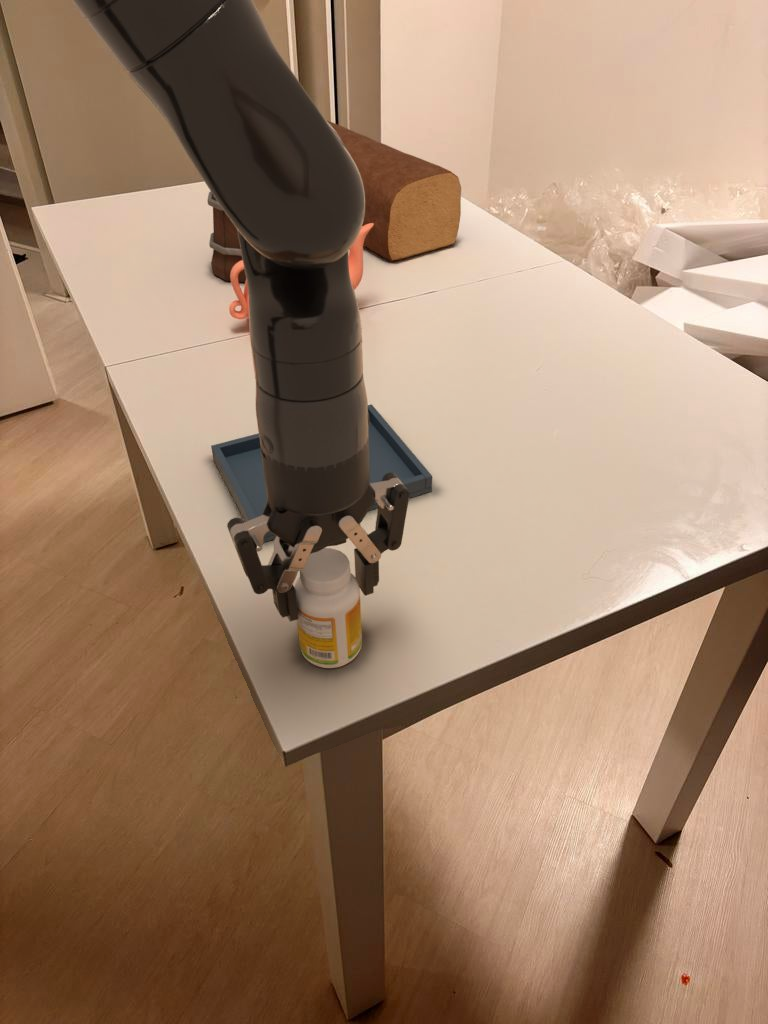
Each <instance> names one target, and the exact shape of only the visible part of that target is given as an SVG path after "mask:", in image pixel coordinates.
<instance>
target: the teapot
mask: <svg viewBox="0 0 768 1024" xmlns="http://www.w3.org/2000/svg"><path fill="white" fill-rule="evenodd" d="M373 225H374V224H373V223H369V224H366V225H364V226H362V227H361V230H360V233H359V235H358V237H357V239H356V241H355V242H354V244H353V245H352V247H351V248H350V249H349V251H348V260H349V273H350V279H351V283H352V286H353V289H354V291H356V289H357V288H359V287H358V286H359V285H360V283H361V281H362V279H363V275H364V246H363V243H364V239H365V237H366V235H367V233H368V232H369V230H370V229H371V228H372V227H373ZM243 269H244V264H243V260H241V261H239V262H238V263H236V264H235V265H234V266H233V268H232V270H231V273H230V279H231V281H230V284H231V286H232V289H233V292H234V293H235V296H236V300H233V301H232V302H231V303H230V304H229V307H228V311H229V314H230V317H232V318H234V319H237V320H244V319H246V318H248V319H249V296H248V286H247V280H246V282H244V288H243V290H242V288H241V286H240V282H238V274H239V272H240V271H241V270H243ZM239 306H240V308H241V309H240V310H236V307H239Z"/></svg>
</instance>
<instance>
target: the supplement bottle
mask: <svg viewBox="0 0 768 1024" xmlns="http://www.w3.org/2000/svg"><path fill="white" fill-rule="evenodd" d="M293 586H294V588H295V591H296V600H297V608H298V617H299V619H297V620H296V625H297V633H298V634H297V635H298V642H299V647H300V648H299V649H300V651H301V654H302V656H303V657H304V659H305V660H307V661H308V662H309V663H310V664H312V665H314V666H317V667H320V668H324V669H334V668H340V667H343V666H346V665H347V664H349V663H350V662H352V661H353V660H354V659H355V658H357V656H358V655H359V653H360V651H361V649H362V645H363V632H362V631H363V630H362V612H361V611H362V610H361V609H362V608H361V592H360V591H361V589H360V587H359V584H358V581H357V579H356V578H355V574H353V573H352V572H351V564H350V560H349V557H348V556H347V555H346V554H345V553H344V552H343V551H340V550H338V549H337V548H336V549H335V548H328V547H325V548H324V549H322V550H320V551H318V552H315V553H312V554H310V555H309V557H308V560H307V562H306V564H305V567H304V569H303V570H302V571H299V577H298V578H297V580H296V581H295V584H294V585H293Z"/></svg>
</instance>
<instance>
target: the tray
mask: <svg viewBox="0 0 768 1024" xmlns="http://www.w3.org/2000/svg"><path fill="white" fill-rule="evenodd" d="M368 412H369V417H370V423H369V427H368V432H369V465H370V482H369V483H375V482H381V481H382V478H383V476H384V475H385V474H387V473H389V472H393V473H395V475H396V476H397V477H398V478H399V480H400V481H401V482H402V483H403V485H404V486H405V487H406V489H407V490H408V491H409V499H411V498H416V497H418V496H421V495H424V494H427V493H431V492H433V475H432V474H431V472H430V471H429V470H428V468H426V467H425V466H424V464H423V463H422V462H421V461H420V459H419V458H418V457H417V456H416V455H415V454H414V452H413V451H412V449H410V448H409V447H408V445H407V444H406V443H405V442H404V440H402V438H401V437H400V436H399V435H398V433H397V432H396V431H395V430H394V428H392V426H391V425H390V424H389V423H388V422H387V420H386V419H385V418H384V417H383V416H382V415H381V414H380V412H379V411H378V410H377V409H376V407H374V405H373V404H372V403H371V404H368ZM210 446H211V447H210V449H211V453H212V454H211V455H212V458H213V462H214V464H215V466H216V468H217V470H218V472H219V474H220V476H221V478H222V480H223V482H224V484H225V486H226V488H227V490H228V491H229V493H230V496H231V497H232V499H233V501H234V503H235V504H236V507H237V509H238V511H239V513H240V515H241V517H242V520H243V522H247V521H249V520H252V519H254V518H256V517H259V516H261V515H263V511H264V508H265V506H266V504H267V491H266V484H265V476H264V469H263V462H262V454H261V446H260V439H259V432H258V433H254V434H251V435H247V436H243V437H239V438H235V439H231V440H227V441H223V442H220V443H216V444H212V445H210ZM378 505H379V504H378V503H377V501H376V500H375V501H374V503H373V505H372V506H371V508H370V509H369V511H372V510H375V509H378ZM275 538H276V535H274V534H273V533H272V532H271V531H269V532H267V533H266V534H265V535H264V538H263V540H264V543H267V542H270V541H274V540H275Z"/></svg>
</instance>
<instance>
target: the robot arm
mask: <svg viewBox="0 0 768 1024" xmlns="http://www.w3.org/2000/svg"><path fill="white" fill-rule="evenodd" d="M71 2H72V3H73V5H74V6H75V7H76V9H77V10H78V11H79V12H80V14H81V15H82V16H83V18H85V19H86V21H87V23H88V24H89V26H90V27H91V28H92V29H93V31H94V33H96V35H97V36H98V37H99V38H100V40H101V41H102V42H103V44H104V45H105V46H106V47H107V49H108V50H109V52H110V53H111V54H112V55H113V56H114V58H115V59H116V61H117V62H118V63H119V64H120V66H121V67H122V69H124V71H127V75H128V76H129V77H130V79H131V80H132V81H133V82H134V83H135V85H136V86H137V87H138V88H139V89H140V90H141V91H142V93H144V95H145V96H146V97H147V98H148V99H149V100H150V101H151V103H152V104H153V105H154V106H155V107H156V108H157V110H158V112H159V113H160V114H161V115H162V117H163V118H164V120H166V122H167V123H168V125H169V126H170V128H171V130H172V131H173V134H174V135H175V136H176V138H177V141H179V144H180V145H181V147H182V148H183V150H184V151H185V153H186V155H187V156H188V158H189V160H190V161H191V162H192V164H193V166H194V168H195V169H196V170H197V172H198V174H199V175H200V177H201V178H202V180H203V181H204V183H205V185H206V186H207V188H208V189H209V192H212V194H213V195H214V197H215V198H216V200H217V201H218V203H219V204H220V206H221V207H222V209H223V210H224V212H225V213H226V215H227V216H228V217H229V219H230V220H231V221H232V223H233V224H234V226H235V227H236V228H237V232H238V238H239V243H240V248H241V254H242V259H243V264H244V270H245V274H246V280H247V286H248V296H249V318H248V326H249V327H248V330H249V340H250V350H251V357H252V365H253V371H254V372H253V373H254V379H255V417H256V424H257V431H258V433H259V439H260V446H261V454H262V462H263V469H264V476H265V484H266V491H267V504H266V506H265V508H264V511H263V515H261V516H259V517H256V518H254V519H252V520H249V521H247V522H245V521H244V519H243V518H240V517H234V518H231V519H230V520H228V522H227V524H226V527H227V530H228V532H229V534H230V538H231V541H232V543H233V546H234V549H235V551H236V553H237V556H238V558H239V562H240V564H241V566H242V569H243V572H244V573H245V576H246V577H247V578H248V581H249V583H250V586H251V589H252V592H253V593H255V594H256V595H263V594H264V593H266V592H268V590H271V592H272V597H273V599H272V600H273V603H274V606H275V608H276V610H277V611H278V614H279V615H280V616H281V618H282V619H285V618H287V619H288V621H289V622H290V623H291V622H294V621H297V619H299V617H298V608H297V600H296V591H295V588H294V586H295V585H294V582H295V580H296V578H297V576H298V573H299V572H300V571H302V570H303V569H304V567H305V564H306V562H307V560H308V557H309V555H310V554H312V553H315V552H318V551H320V550H322V549H324V548H328V547H335V546H340V545H342V544H346V543H347V540H348V539H349V541H350V542H351V543H352V544H353V546H354V547H355V548H354V549H353V554H354V573H355V574H354V576H355V578H356V579H357V581H358V584H359V590H360V591H361V592H362V595H364V597H366V596H369V595H372V594H374V592H375V591H374V590H375V589H374V588H375V587H377V586H378V584H379V582H380V559H381V558H382V555H383V553H385V552H386V551H388V550H389V551H396V550H398V549H399V548H400V547H401V546H402V542H403V536H404V531H405V525H406V518H407V511H408V505H409V501H410V500H409V499H410V498H409V491H408V490H407V489H406V487H405V486H404V485H403V483H402V482H401V481H400V480H399V478H398V477H397V476H396V475H395V473H393V472H389V473H387V474H385V475H384V476H383V478H382V481H381V482H375V483H369V482H370V465H369V432H368V427H369V423H370V417H369V412H368V405H369V403H368V396H367V390H366V385H365V378H364V363H363V362H364V361H363V331H362V319H361V312H360V307H359V303H358V299H357V298H358V297H357V295H356V293H355V290H354V289H353V286H352V283H351V279H350V273H349V260H348V257H349V252H350V248H351V247H352V245H353V244H354V242H355V241H356V239H357V237H358V235H359V233H360V230H361V227H362V224H363V220H364V215H365V192H364V186H363V181H362V178H361V175H360V172H359V170H358V168H357V166H356V164H355V162H354V160H353V159H352V157H351V155H350V154H349V152H348V150H347V149H346V147H345V145H344V144H343V142H342V140H341V139H340V137H339V135H338V134H337V132H336V131H335V130H334V128H333V127H332V126H331V125H330V124H329V123H328V122H327V121H328V120H327V119H325V117H324V116H323V114H322V113H321V111H320V110H319V108H318V107H317V106H316V104H315V102H314V101H313V100H312V98H311V97H310V95H309V94H308V92H307V91H306V90H305V88H304V86H303V85H302V84H301V82H300V81H299V80H298V78H297V76H296V75H295V74H294V72H293V70H292V69H291V68H290V66H289V65H288V64H287V61H285V59H284V58H283V56H282V55H281V53H280V52H279V51H278V48H276V46H275V44H274V42H273V40H272V37H271V36H270V33H269V32H268V30H267V27H266V24H265V22H264V20H263V17H262V16H261V14H260V12H259V10H258V8H257V6H256V4H255V2H254V0H71ZM375 500H376V501H377V503H378V504H379V505H378V508H377V512H376V520H375V528H374V530H373V531H371V532H370V533H368V532H367V531H366V530H365V528H364V527H363V526H362V524H361V523H362V521H363V520H364V519H365V517H366V516H367V514H368V512H369V511H370V510H369V509H370V508H371V506H372V505H373V503H374V501H375ZM269 531H271V532H272V533H273V534H274V535H276V538H275V539H274V540H273V551H272V554H271V556H270V559H269V561H268V564H265V565H263V564H262V562H261V559H260V556H259V554H258V552H260V551H262V549H263V547H262V546H263V545H264V543H265V542H264V540H263V538H264V535H265V534H266V533H267V532H269Z"/></svg>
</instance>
